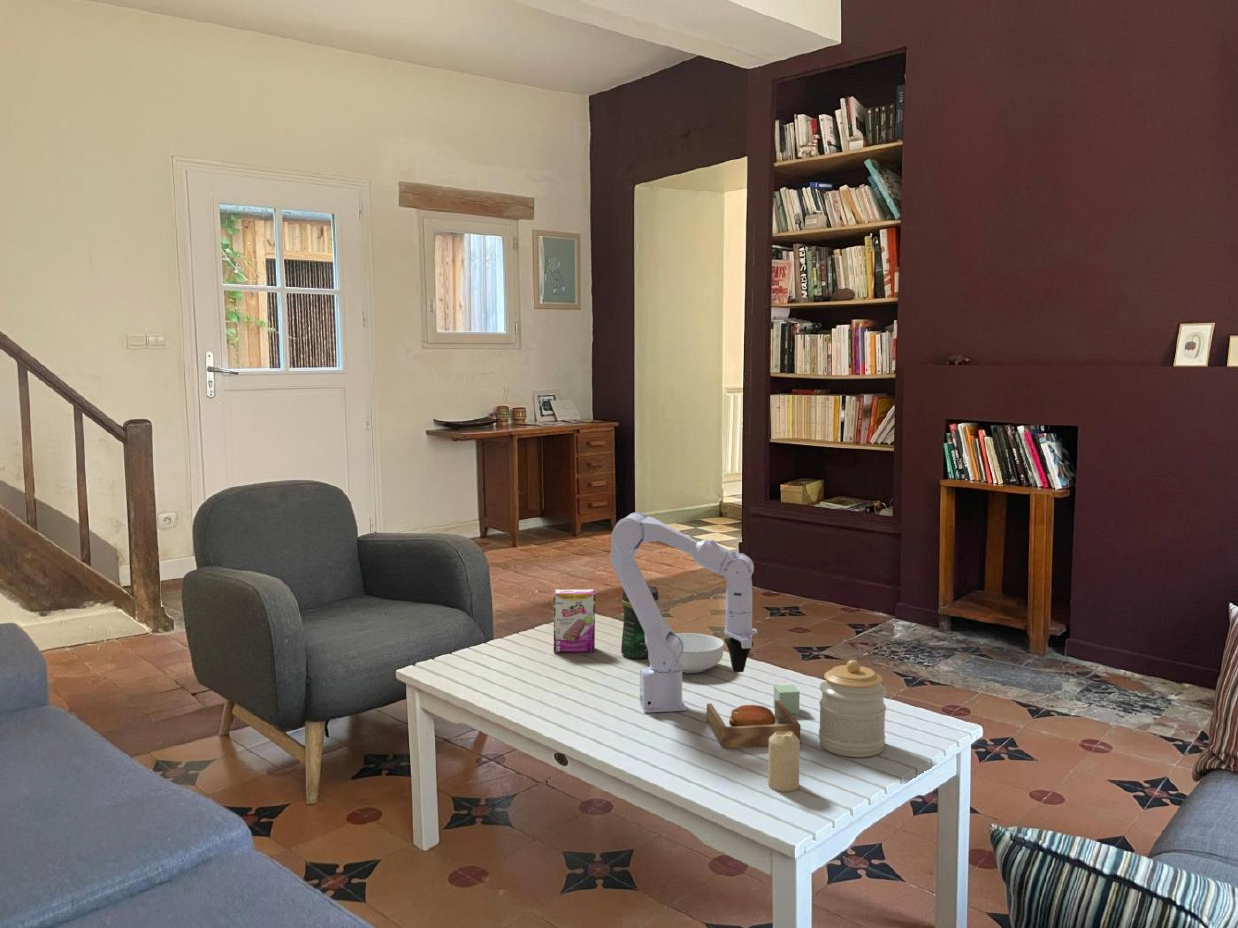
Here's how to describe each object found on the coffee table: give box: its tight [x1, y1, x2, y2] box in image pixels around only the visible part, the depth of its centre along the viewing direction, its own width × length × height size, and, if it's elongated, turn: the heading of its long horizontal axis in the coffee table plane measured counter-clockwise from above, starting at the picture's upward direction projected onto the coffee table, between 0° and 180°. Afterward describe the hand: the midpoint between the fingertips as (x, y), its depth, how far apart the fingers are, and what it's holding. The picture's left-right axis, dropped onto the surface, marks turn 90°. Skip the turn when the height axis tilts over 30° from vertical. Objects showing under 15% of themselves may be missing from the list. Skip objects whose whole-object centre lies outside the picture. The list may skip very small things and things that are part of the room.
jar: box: [818, 659, 887, 758], centre depth 189 cm, size 13×13×18 cm
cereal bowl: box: [675, 632, 725, 674], centre depth 239 cm, size 17×17×7 cm
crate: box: [706, 700, 802, 749], centre depth 196 cm, size 16×14×4 cm
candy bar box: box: [553, 588, 596, 654], centre depth 254 cm, size 11×5×16 cm, turn 94°
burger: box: [728, 704, 776, 727], centre depth 198 cm, size 10×9×5 cm
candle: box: [767, 731, 801, 793], centre depth 171 cm, size 6×6×10 cm
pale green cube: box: [773, 684, 801, 715], centre depth 209 cm, size 4×4×5 cm
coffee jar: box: [620, 584, 660, 659], centre depth 250 cm, size 10×8×19 cm
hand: (738, 671), depth 207 cm, fingers closed
